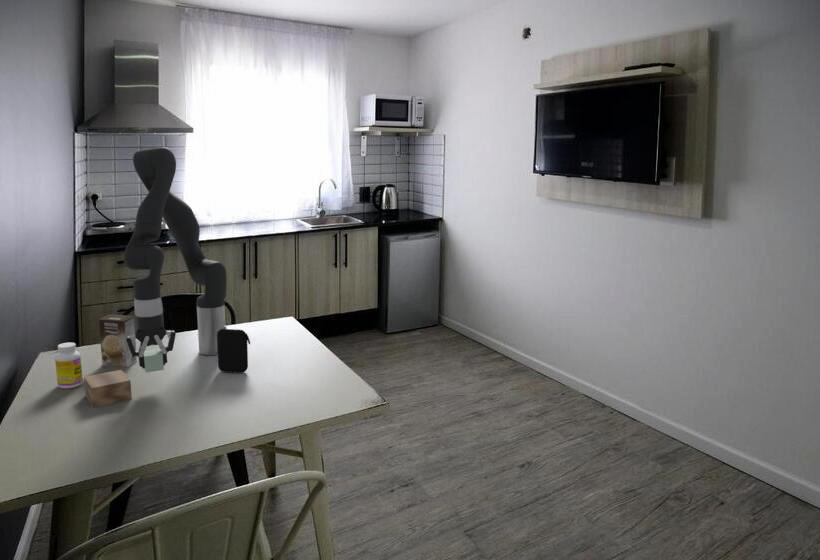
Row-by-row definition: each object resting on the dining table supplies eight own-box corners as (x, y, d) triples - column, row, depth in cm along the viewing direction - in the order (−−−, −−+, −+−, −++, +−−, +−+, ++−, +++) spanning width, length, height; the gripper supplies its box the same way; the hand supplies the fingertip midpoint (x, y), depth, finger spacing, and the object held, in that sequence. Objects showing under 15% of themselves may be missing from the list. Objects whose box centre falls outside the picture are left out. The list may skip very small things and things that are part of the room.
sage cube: (161, 364, 180) (160, 348, 179) (163, 369, 176) (162, 354, 174) (144, 366, 178) (142, 351, 176) (145, 372, 173) (144, 356, 172)
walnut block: (122, 388, 177) (121, 369, 176) (131, 399, 170) (130, 380, 169) (85, 396, 171) (83, 376, 170) (93, 408, 164) (91, 388, 162)
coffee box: (101, 365, 194) (96, 319, 190) (112, 359, 200) (108, 313, 196) (127, 367, 193) (123, 320, 189) (138, 360, 199) (134, 315, 196)
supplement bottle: (77, 389, 175) (73, 348, 172) (54, 389, 174) (49, 348, 171) (86, 380, 182) (82, 341, 179) (63, 381, 181) (59, 341, 178)
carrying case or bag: (252, 371, 193) (251, 328, 190) (249, 374, 190) (248, 331, 187) (220, 370, 193) (218, 327, 190) (217, 373, 190) (215, 330, 187)
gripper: (173, 306, 179) (177, 358, 183) (121, 311, 172) (126, 365, 176) (176, 312, 173) (180, 366, 177) (122, 318, 166) (128, 374, 170)
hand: (153, 365), depth 176 cm, fingers closed on sage cube, 5 cm apart
